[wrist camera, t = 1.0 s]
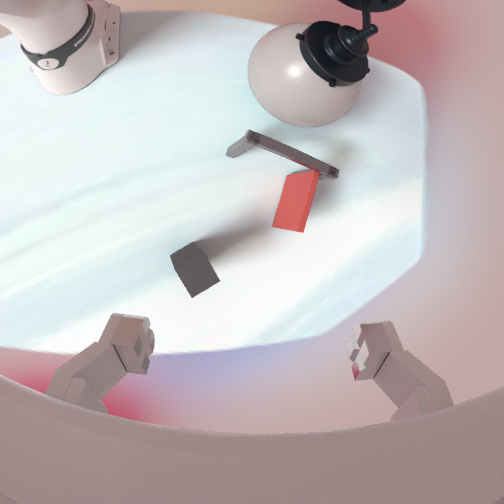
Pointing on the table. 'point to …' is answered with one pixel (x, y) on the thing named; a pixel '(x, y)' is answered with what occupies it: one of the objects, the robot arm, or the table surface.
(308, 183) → the red square panel
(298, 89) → the light fixture
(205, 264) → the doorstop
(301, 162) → the frame
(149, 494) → the robot arm
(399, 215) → the table surface
